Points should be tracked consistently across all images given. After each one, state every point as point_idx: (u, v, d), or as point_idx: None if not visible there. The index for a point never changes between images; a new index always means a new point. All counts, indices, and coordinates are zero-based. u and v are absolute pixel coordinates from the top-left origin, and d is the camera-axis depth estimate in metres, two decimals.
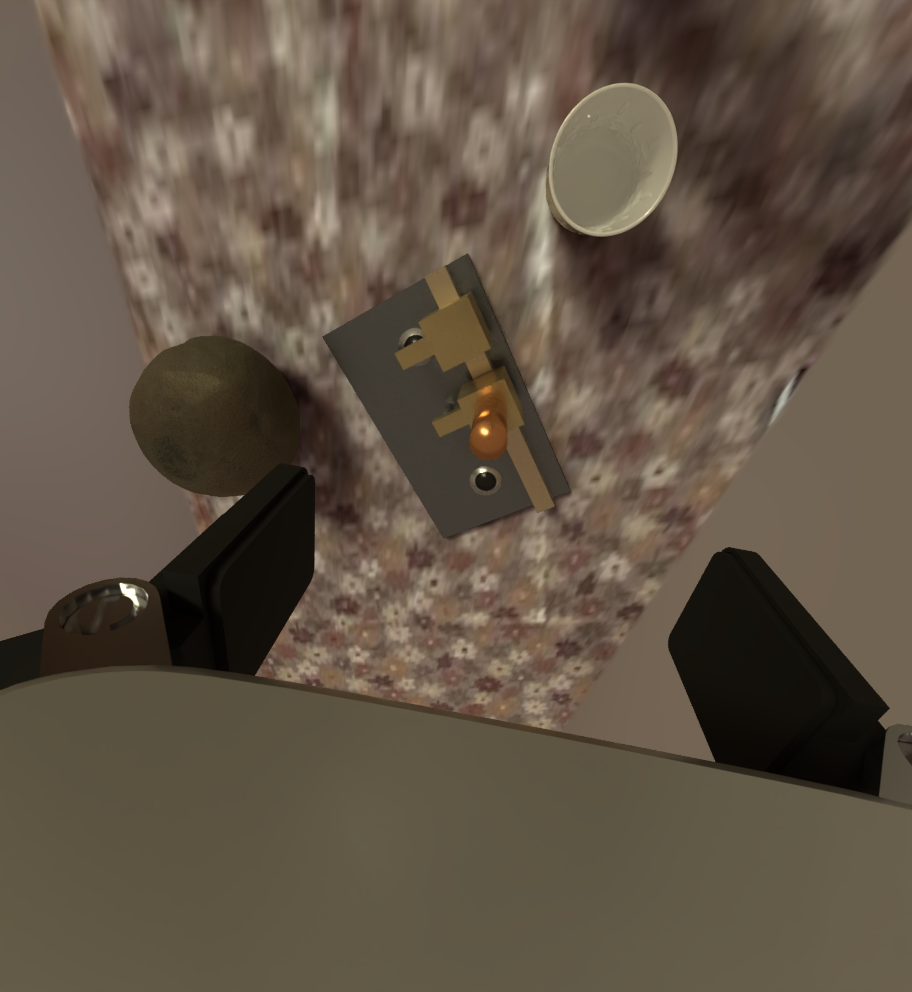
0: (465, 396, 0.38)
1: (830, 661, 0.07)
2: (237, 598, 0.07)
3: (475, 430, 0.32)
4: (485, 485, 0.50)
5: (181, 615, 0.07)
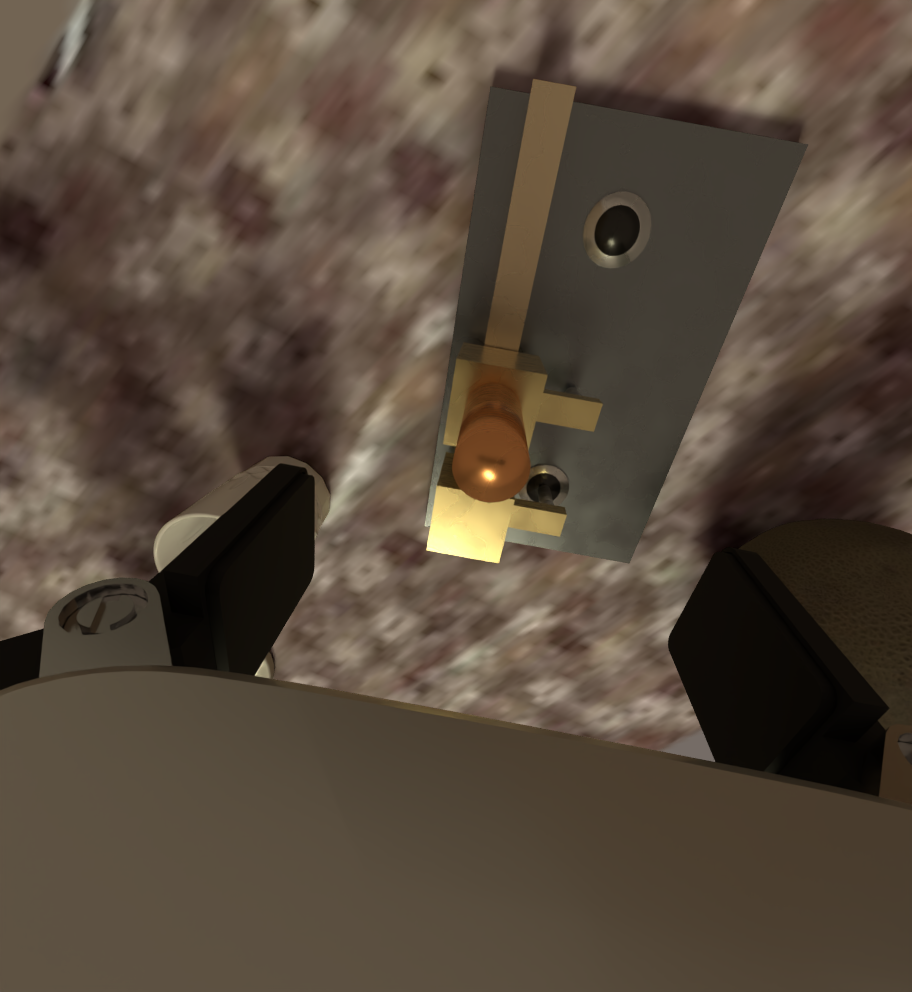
0: None
1: (830, 661, 0.07)
2: (237, 598, 0.07)
3: (495, 500, 0.17)
4: (623, 221, 0.24)
5: (181, 615, 0.07)
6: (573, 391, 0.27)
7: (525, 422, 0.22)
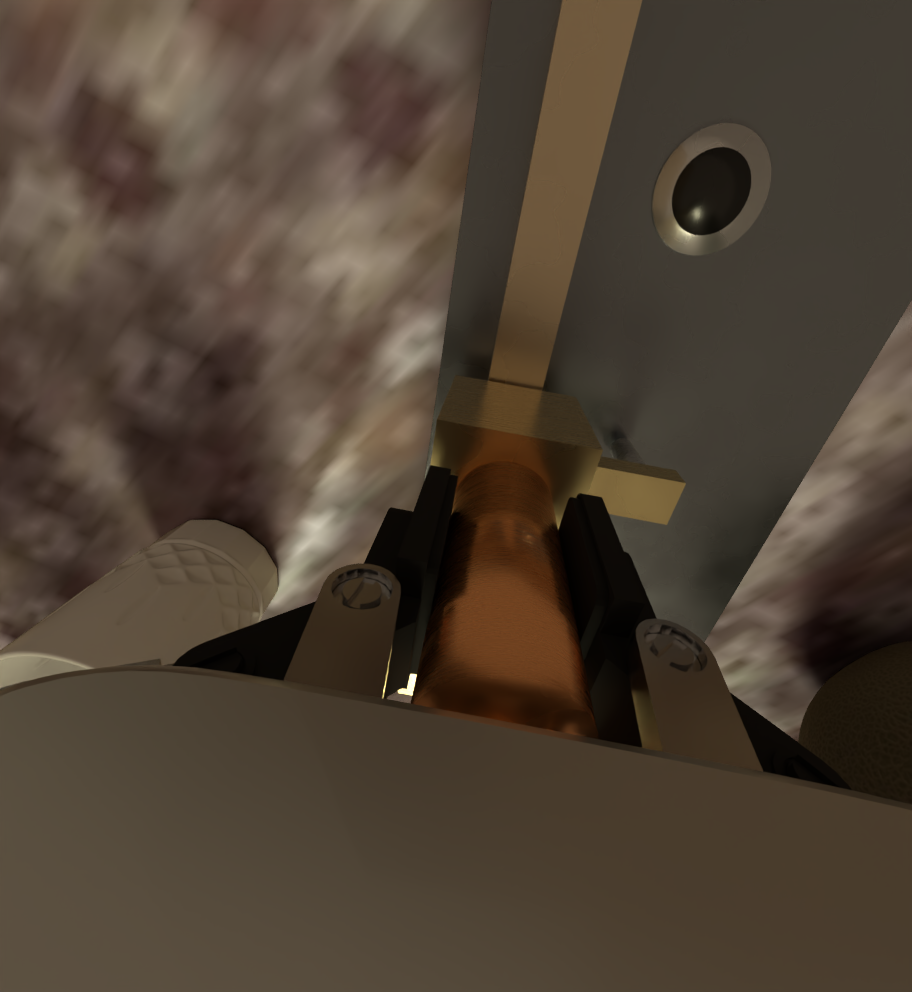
0: None
1: (614, 572, 0.08)
2: (436, 583, 0.08)
3: None
4: (724, 176, 0.14)
5: (403, 596, 0.08)
6: (626, 448, 0.17)
7: (559, 525, 0.13)
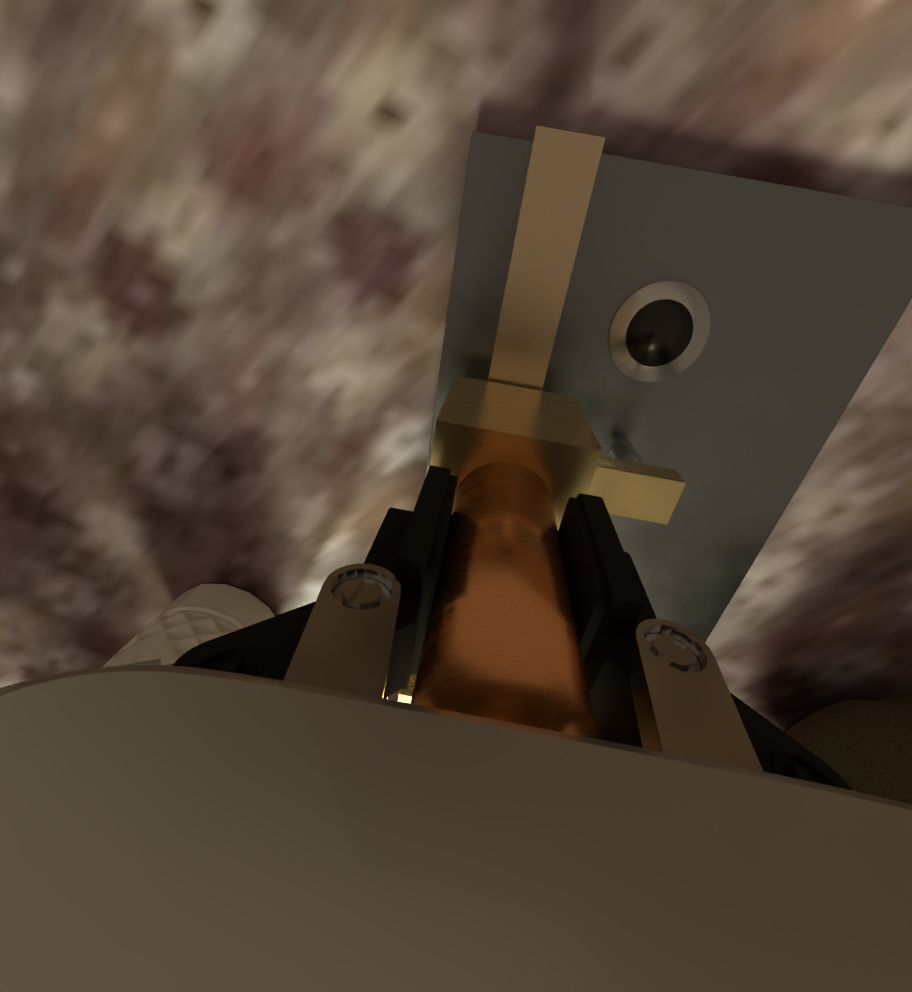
0: None
1: (614, 572, 0.08)
2: (436, 582, 0.08)
3: None
4: (669, 321, 0.16)
5: (403, 596, 0.08)
6: (626, 447, 0.17)
7: (558, 525, 0.13)
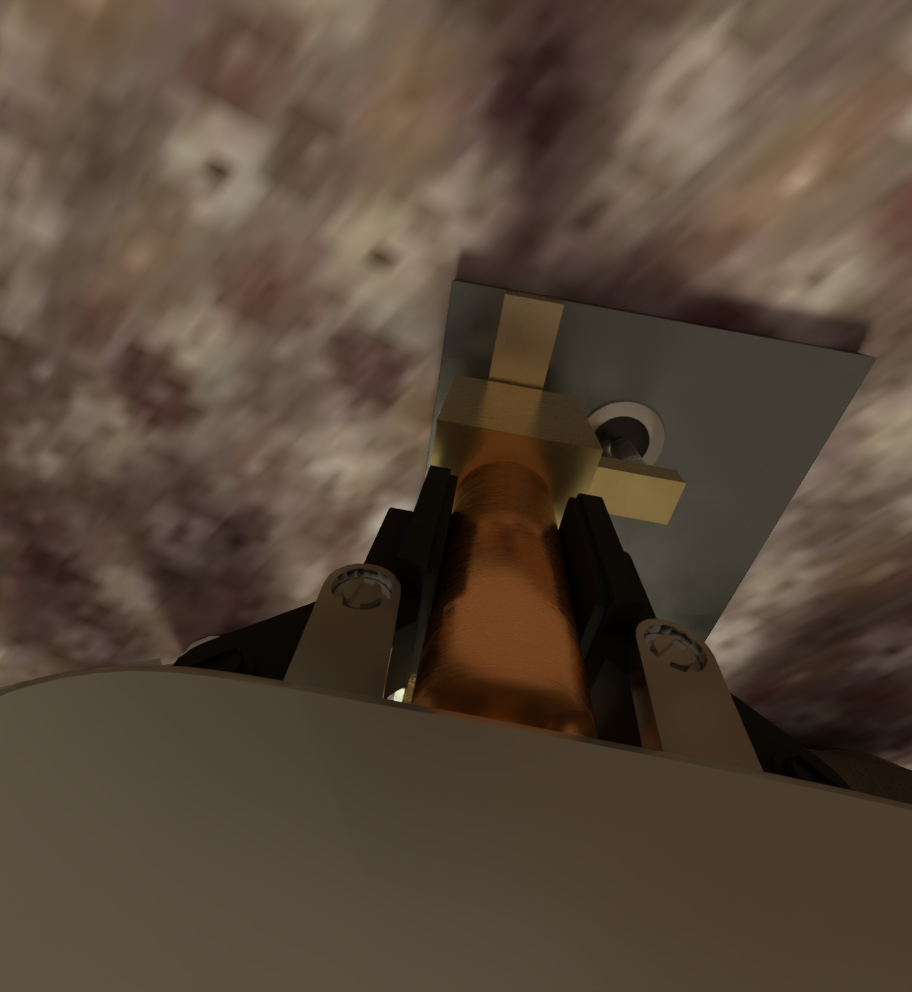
0: None
1: (614, 572, 0.08)
2: (436, 583, 0.08)
3: None
4: (628, 433, 0.19)
5: (403, 596, 0.08)
6: (627, 448, 0.17)
7: (559, 525, 0.13)
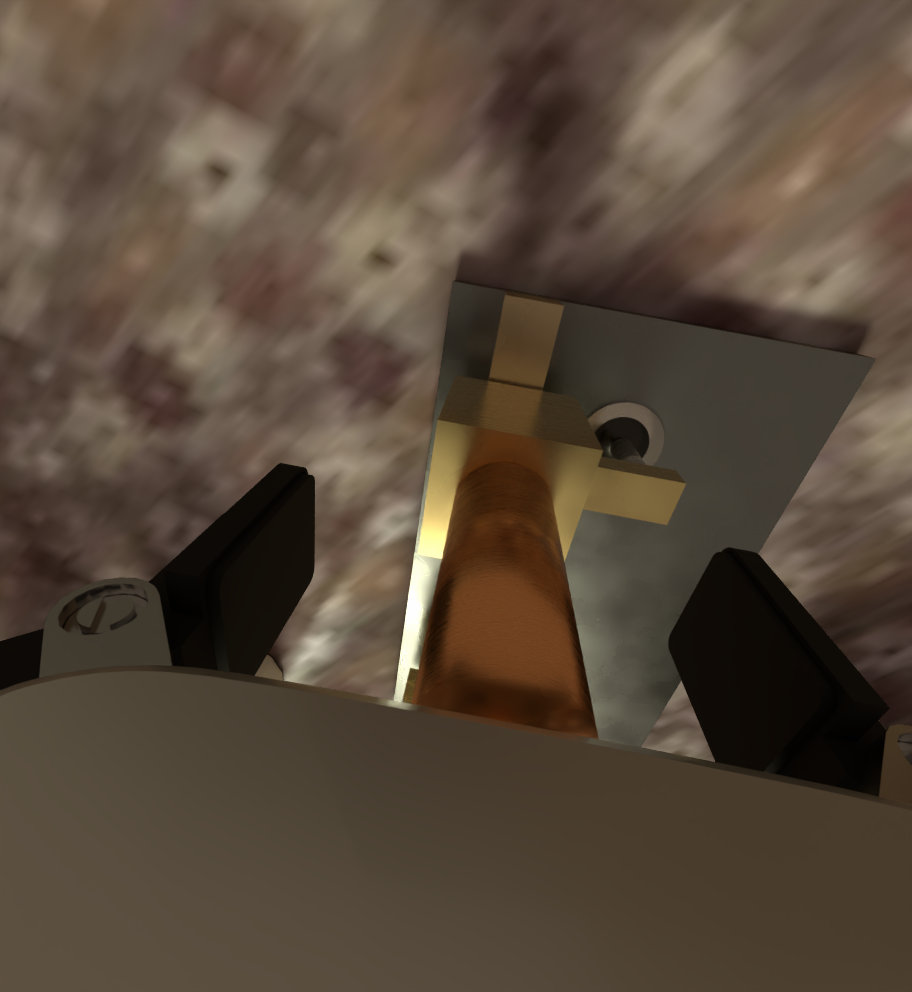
0: None
1: (830, 661, 0.07)
2: (237, 598, 0.07)
3: None
4: (628, 434, 0.19)
5: (181, 615, 0.07)
6: (626, 448, 0.17)
7: (559, 525, 0.13)
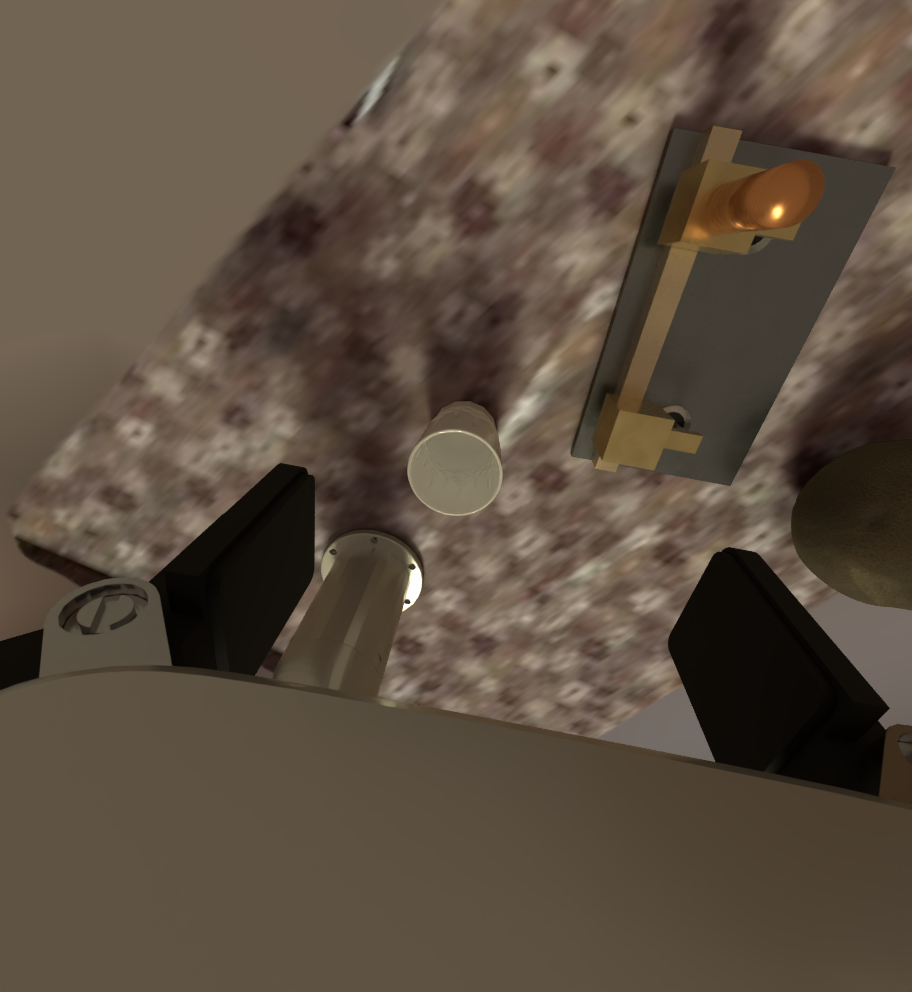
0: (733, 251, 0.29)
1: (830, 661, 0.07)
2: (237, 598, 0.07)
3: (787, 225, 0.22)
4: None
5: (181, 615, 0.07)
6: None
7: None
